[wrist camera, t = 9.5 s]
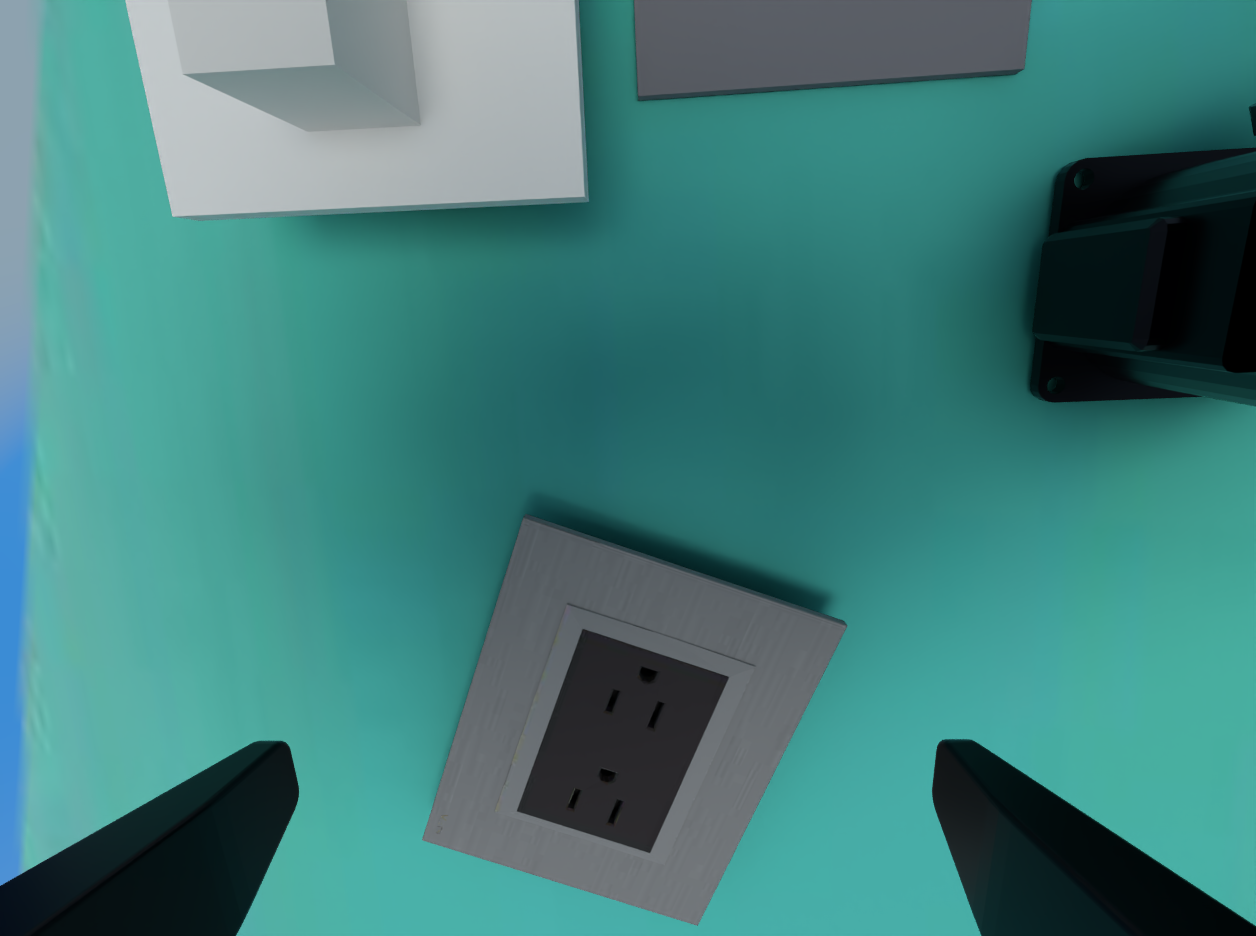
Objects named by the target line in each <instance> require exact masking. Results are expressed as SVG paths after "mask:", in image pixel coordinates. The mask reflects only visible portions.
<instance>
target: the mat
mask: <svg viewBox="0 0 1256 936" xmlns="http://www.w3.org/2000/svg"><path fill="white" fill-rule="evenodd" d="M1031 2H1032V0H634V9H635V34H636V58H637V83H638V101H640V100H655V99H669V98H683V97H697V96H711V95H726V94H740V93H754V92H768V91H782V90H796V89H811V88H825V87H839V86H853V85H867V84H882V83H896V82H910V81H924V80H938V79H952V78H967V77H981V76H995V75H1009V74H1017V73H1018V72H1020V71H1021V70H1023V69H1024V67H1025V58H1026V48H1027V39H1028V30H1029V20H1030V11H1031Z"/></svg>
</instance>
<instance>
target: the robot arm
mask: <svg viewBox="0 0 1256 936" xmlns="http://www.w3.org/2000/svg"><path fill="white" fill-rule="evenodd" d="M1249 110H1250V116H1251V122H1252V127H1253V133H1254V136H1256V104H1254V105H1251V106H1250V107H1249ZM1078 172H1081V173H1082V174H1083V175H1084V183H1083V186H1082V187H1081V188H1080V189H1079V188H1077V187H1076V186H1075V183H1074V178H1075V176H1076V174H1077V173H1078ZM1032 330H1033V333H1034V334H1035V335H1036V342H1035V350H1034V358H1033V366H1032V374H1031V382H1030V387H1031V392H1032V393H1033V395H1034V396H1035V397H1036V398H1038V399H1040V400H1044V401H1047V402H1079V401H1104V400H1129V399H1154V398H1180V397H1209V398H1214V399H1219V400H1225V401H1230V402H1235V403H1240V404H1246V405H1251V406H1256V148H1242V149H1226V150H1210V151H1194V152H1178V153H1162V154H1146V155H1130V156H1114V157H1098V158H1086V159H1082V160H1078V161H1075V162H1072V163H1069V164H1068V165H1066V166H1065V167H1064V168H1062V170H1061V171H1060V173H1059V174H1058V176H1057V179H1056V182H1055V190H1054V198H1053V206H1052V214H1051V222H1050V230H1049V238H1048V239H1047V240H1046V241H1045V242H1044V244H1043V247H1042V256H1041V264H1040V272H1039V280H1038V288H1037V296H1036V305H1035V313H1034V321H1033V329H1032ZM1054 377H1055V378H1056V380H1057V384H1056V387H1055V388H1054V389H1053V390H1052V391H1048V390H1047V384H1048V382H1049V380H1051V379H1052V378H1054ZM298 797H299V786H298V781H297V777H296V772H295V768H294V763H293V759H292V754H291V750H290V747H289V746H288V744H287V743H286V742H283V741H256V742H253V743H251V744H250V745H248V746H246V747H244V748H242V749H241V750H239V751H237V752H235V753H234V754H232V755H230V756H228V757H227V758H225V759H223V760H221V761H220V762H218V763H216V764H214V765H213V766H211V767H209V768H207V769H205V770H204V771H202V772H200V773H198V774H197V775H195V776H193V777H191V778H190V779H188V780H186V781H184V782H183V783H181V784H179V785H177V786H176V787H174V788H172V789H170V790H168V791H167V792H165V793H163V794H161V795H160V796H158V797H156V798H154V799H153V800H151V801H149V802H147V803H146V804H144V805H142V806H140V807H139V808H137V809H135V810H133V811H131V812H130V813H128V814H126V815H124V816H123V817H121V818H119V819H117V820H116V821H114V822H112V823H110V824H109V825H107V826H105V827H103V828H101V829H100V830H98V831H96V832H94V833H93V834H91V835H89V836H87V837H86V838H84V839H82V840H80V841H79V842H77V843H75V844H73V845H72V846H70V847H68V848H66V849H64V850H63V851H61V852H59V853H57V854H56V855H54V856H52V857H50V858H49V859H47V860H45V861H43V862H42V863H40V864H38V865H36V866H35V867H33V868H31V869H29V870H27V871H26V872H24V873H22V874H20V875H19V876H17V877H15V878H14V879H12V880H10V881H8V882H6V883H5V884H3V885H1V886H0V936H236V935H237V933H238V931H239V929H240V927H241V925H242V923H243V921H244V919H245V917H246V915H247V913H248V911H249V909H250V907H251V905H252V903H253V901H254V899H255V896H256V894H257V892H258V890H259V888H260V885H261V883H262V881H263V879H264V876H265V874H266V872H267V870H268V868H269V865H270V863H271V861H272V859H273V857H274V854H275V852H276V850H277V848H278V846H279V843H280V841H281V839H282V837H283V835H284V832H285V830H286V828H287V826H288V824H289V821H290V819H291V817H292V815H293V813H294V810H295V808H296V805H297V802H298ZM932 797H933V803H934V807H935V810H936V813H937V816H938V819H939V822H940V824H941V827H942V830H943V833H944V835H945V838H946V841H947V844H948V846H949V849H950V852H951V855H952V857H953V860H954V863H955V866H956V869H957V871H958V874H959V877H960V880H961V882H962V885H963V888H964V891H965V893H966V896H967V899H968V902H969V904H970V907H971V910H972V913H973V915H974V918H975V920H976V923H977V926H978V928H979V931H980V933H981V936H1256V926H1255V925H1253V924H1252V923H1250V922H1249V921H1247V920H1246V919H1244V918H1243V917H1241V916H1240V915H1238V914H1237V913H1235V912H1234V911H1232V910H1231V909H1229V908H1228V907H1226V906H1225V905H1223V904H1222V903H1220V902H1218V901H1217V900H1215V899H1214V898H1212V897H1211V896H1209V895H1208V894H1206V893H1205V892H1203V891H1202V890H1200V889H1199V888H1197V887H1196V886H1194V885H1193V884H1191V883H1190V882H1188V881H1187V880H1185V879H1184V878H1182V877H1180V876H1179V875H1177V874H1176V873H1174V872H1173V871H1171V870H1170V869H1168V868H1167V867H1165V866H1164V865H1162V864H1161V863H1159V862H1158V861H1156V860H1155V859H1153V858H1152V857H1150V856H1149V855H1147V854H1146V853H1144V852H1143V851H1141V850H1139V849H1138V848H1136V847H1135V846H1133V845H1132V844H1130V843H1129V842H1127V841H1126V840H1124V839H1123V838H1121V837H1120V836H1118V835H1117V834H1115V833H1114V832H1112V831H1111V830H1109V829H1108V828H1106V827H1105V826H1103V825H1102V824H1100V823H1098V822H1097V821H1095V820H1094V819H1092V818H1091V817H1089V816H1088V815H1086V814H1085V813H1083V812H1082V811H1080V810H1079V809H1077V808H1076V807H1074V806H1073V805H1071V804H1070V803H1068V802H1067V801H1065V800H1064V799H1062V798H1061V797H1059V796H1057V795H1056V794H1054V793H1053V792H1051V791H1050V790H1048V789H1047V788H1045V787H1044V786H1042V785H1041V784H1039V783H1038V782H1036V781H1035V780H1033V779H1032V778H1030V777H1029V776H1027V775H1026V774H1024V773H1023V772H1021V771H1019V770H1018V769H1016V768H1015V767H1013V766H1012V765H1010V764H1009V763H1007V762H1006V761H1004V760H1003V759H1001V758H1000V757H998V756H997V755H995V754H994V753H992V752H991V751H989V750H988V749H986V748H985V747H983V746H982V745H980V744H978V743H977V742H975V741H973V740H969V739H945V740H942V741H940V742H939V744H938V746H937V750H936V759H935V768H934V777H933V786H932Z"/></svg>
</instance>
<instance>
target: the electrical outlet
mask: <svg viewBox="0 0 1256 936" xmlns="http://www.w3.org/2000/svg"><path fill="white" fill-rule="evenodd" d="M846 627H847V625H846V623H845V622H844V621H843V620H840V619H837V618H834V617H831V616H828V615H825V614H822V613H819V612H816V611H813V610H810V609H807V608H804V607H801V606H798V605H795V604H792V603H789V602H786V601H783V600H780V599H777V598H774V597H771V596H768V595H765V594H762V593H759V592H756V591H753V590H751V589H748V588H745V587H742V586H739V585H736V584H733V583H730V582H727V581H724V580H721V579H718V578H715V577H712V576H709V575H706V574H703V573H700V572H697V571H694V570H691V569H688V568H685V567H682V566H679V565H676V564H673V563H670V562H667V561H664V560H661V559H658V558H655V557H652V556H649V555H646V554H644V553H641V552H638V551H635V550H632V549H629V548H626V547H623V546H620V545H617V544H614V543H611V542H608V541H605V540H602V539H599V538H596V537H593V536H590V535H587V534H584V533H581V532H578V531H575V530H572V529H569V528H566V527H563V526H560V525H557V524H554V523H551V522H548V521H545V520H542V519H539V518H537V517H534V516H531V515H528V514H525V516H524V517H523V520H522V523H521V527H520V530H519V533H518V536H517V539H516V543H515V546H514V549H513V552H512V555H511V558H510V562H509V565H508V568H507V571H506V574H505V578H504V581H503V584H502V587H501V590H500V594H499V597H498V600H497V603H496V606H495V609H494V613H493V616H492V619H491V622H490V625H489V629H488V632H487V635H486V638H485V641H484V645H483V648H482V651H481V654H480V657H479V660H478V664H477V667H476V670H475V673H474V676H473V680H472V683H471V686H470V689H469V692H468V695H467V699H466V702H465V705H464V708H463V711H462V715H461V718H460V721H459V724H458V727H457V731H456V734H455V737H454V740H453V743H452V746H451V750H450V753H449V756H448V759H447V762H446V766H445V769H444V772H443V775H442V778H441V781H440V785H439V788H438V791H437V794H436V797H435V801H434V804H433V807H432V810H431V813H430V817H429V820H428V823H427V826H426V829H425V832H424V836H423V839H422V840H423V841H427V842H430V843H433V844H436V845H439V846H443V847H446V848H449V849H452V850H456V851H459V852H462V853H465V854H468V855H472V856H475V857H478V858H481V859H485V860H488V861H491V862H494V863H497V864H501V865H504V866H507V867H510V868H513V869H517V870H520V871H523V872H526V873H530V874H533V875H536V876H539V877H542V878H546V879H549V880H552V881H555V882H559V883H562V884H565V885H568V886H571V887H575V888H578V889H581V890H584V891H588V892H591V893H594V894H597V895H600V896H604V897H607V898H610V899H613V900H617V901H620V902H623V903H626V904H629V905H633V906H636V907H639V908H642V909H646V910H649V911H652V912H655V913H658V914H662V915H665V916H668V917H671V918H674V919H678V920H681V921H684V922H687V923H691V924H694V925H697V926H698V924H699V922H700V920H701V918H702V916H703V914H704V912H705V910H706V908H707V906H708V904H709V902H710V900H711V898H712V896H713V894H714V892H715V890H716V888H717V886H718V884H719V882H720V880H721V878H722V876H723V874H724V872H725V870H726V868H727V866H728V864H729V862H730V860H731V858H732V856H733V854H734V852H735V850H736V848H737V846H738V844H739V842H740V840H741V838H742V836H743V834H744V832H745V830H746V828H747V826H748V824H749V822H750V820H751V818H752V816H753V814H754V812H755V810H756V808H757V806H758V804H759V802H760V800H761V798H762V796H763V794H764V792H765V790H766V788H767V786H768V784H769V782H770V780H771V778H772V776H773V774H774V772H775V770H776V768H777V766H778V764H779V762H780V760H781V758H782V756H783V753H784V751H785V749H786V747H787V745H788V743H789V741H790V739H791V737H792V735H793V733H794V731H795V729H796V727H797V725H798V723H799V721H800V719H801V717H802V715H803V713H804V711H805V709H806V707H807V705H808V703H809V701H810V699H811V697H812V695H813V693H814V691H815V689H816V687H817V685H818V683H819V681H820V679H821V677H822V675H823V673H824V671H825V669H826V667H827V665H828V663H829V661H830V659H831V657H832V655H833V653H834V651H835V649H836V647H837V645H838V643H839V641H840V639H841V637H842V635H843V633H844V631H845V629H846Z"/></svg>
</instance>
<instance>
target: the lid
mask: <svg viewBox="0 0 1256 936" xmlns="http://www.w3.org/2000/svg"><path fill="white" fill-rule="evenodd" d="M125 1H126V6H127V10H128V15H129V20H130V24H131V29H132V33H133V38H134V42H135V47H136V52H137V56H138V61H139V65H140V70H141V74H142V79H143V83H144V88H145V93H146V97H147V102H148V106H149V111H150V115H151V120H152V125H153V129H154V134H155V138H156V143H157V147H158V152H159V156H160V161H161V166H162V170H163V175H164V179H165V184H166V188H167V193H168V198H169V202H170V207H171V211H172V216H173V217H178V218H185V219H191V220H197V221H205V220H226V219H246V218H267V217H288V216H309V215H330V214H350V213H371V212H392V211H413V210H434V209H455V208H475V207H496V206H517V205H538V204H559V203H579V202H589V194H588V174H587V154H586V134H585V115H584V95H583V75H582V55H581V36H580V16H579V0H125Z"/></svg>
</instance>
